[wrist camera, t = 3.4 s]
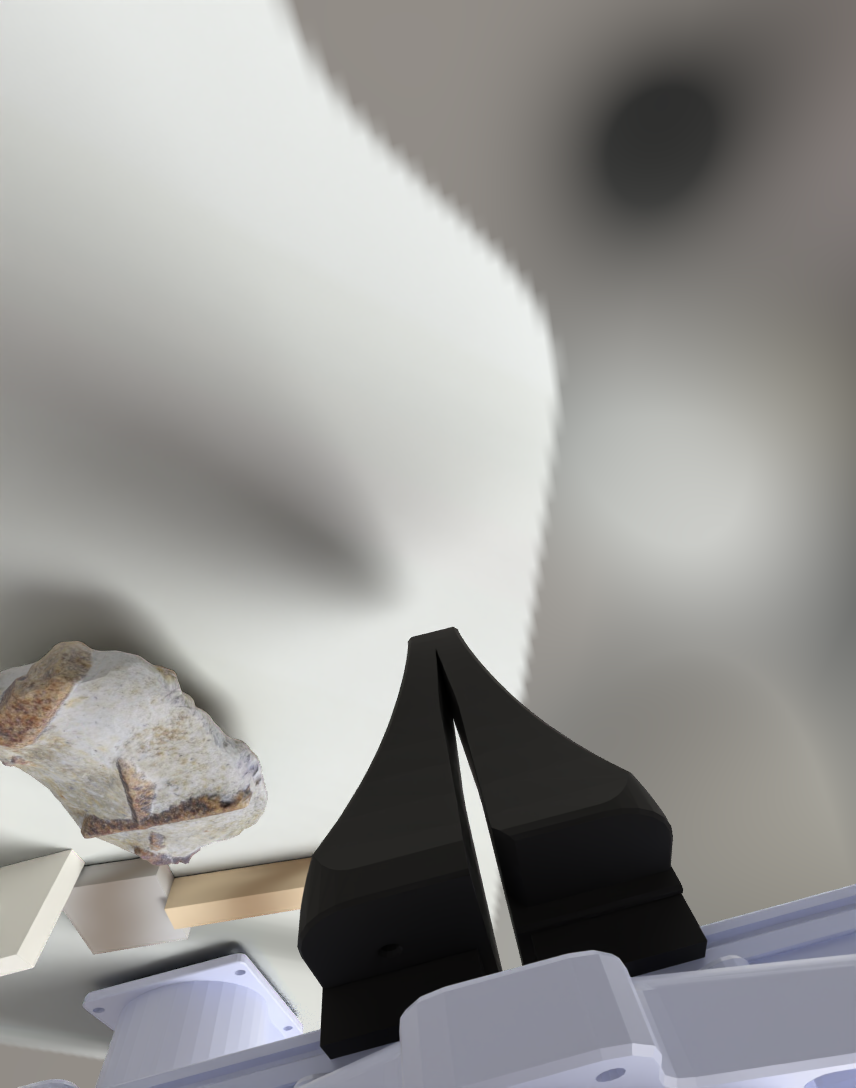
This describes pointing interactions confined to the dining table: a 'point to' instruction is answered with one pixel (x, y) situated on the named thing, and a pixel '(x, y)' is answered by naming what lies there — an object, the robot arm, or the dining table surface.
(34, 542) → the dining table surface
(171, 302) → the dining table surface
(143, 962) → the dining table surface
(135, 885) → the scoop
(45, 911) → the bin
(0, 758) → the stone
